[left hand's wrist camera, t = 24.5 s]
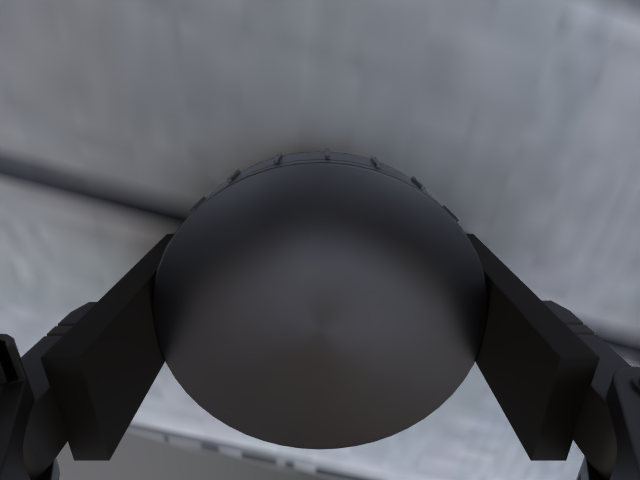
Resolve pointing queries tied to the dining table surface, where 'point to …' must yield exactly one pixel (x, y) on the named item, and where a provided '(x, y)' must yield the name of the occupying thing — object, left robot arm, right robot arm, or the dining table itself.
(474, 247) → the left robot arm
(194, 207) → the lid
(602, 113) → the dining table surface
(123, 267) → the dining table surface
